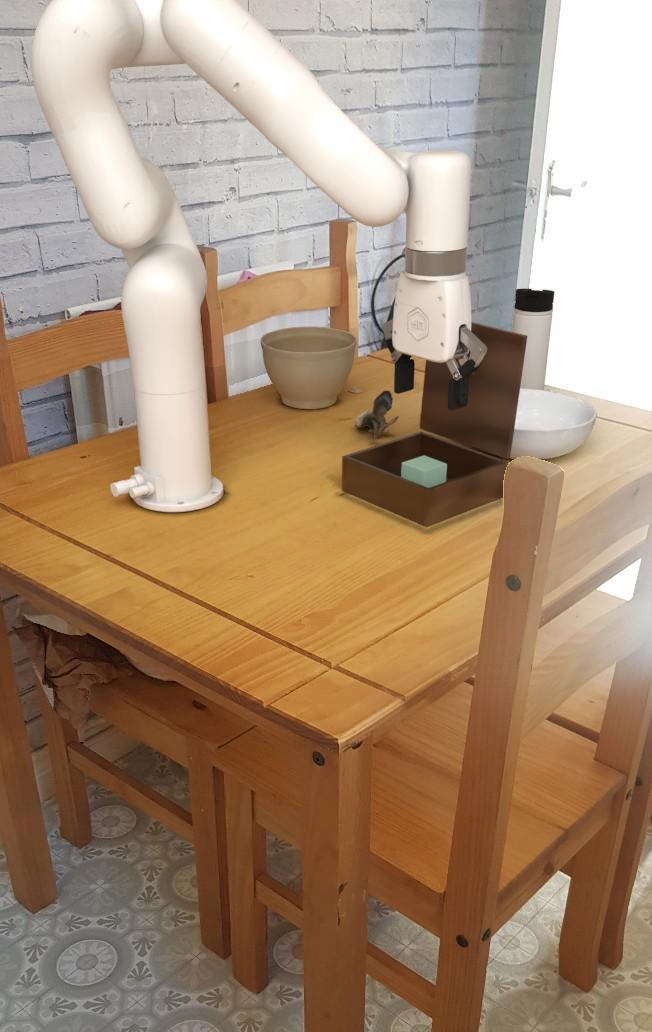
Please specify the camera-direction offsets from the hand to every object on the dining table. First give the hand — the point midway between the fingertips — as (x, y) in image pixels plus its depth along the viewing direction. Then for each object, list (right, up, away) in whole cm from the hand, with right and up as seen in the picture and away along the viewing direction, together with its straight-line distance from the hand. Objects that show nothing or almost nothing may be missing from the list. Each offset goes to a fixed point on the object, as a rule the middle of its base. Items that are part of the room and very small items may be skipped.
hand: (430, 399), depth 137 cm
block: (0, -11, +6) cm, 13 cm away
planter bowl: (-17, +11, +43) cm, 48 cm away
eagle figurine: (-6, +2, +29) cm, 29 cm away
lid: (+6, +3, +4) cm, 7 cm away
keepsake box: (0, -12, +7) cm, 14 cm away
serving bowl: (+16, -2, +23) cm, 28 cm away
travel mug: (+20, +9, +40) cm, 46 cm away
